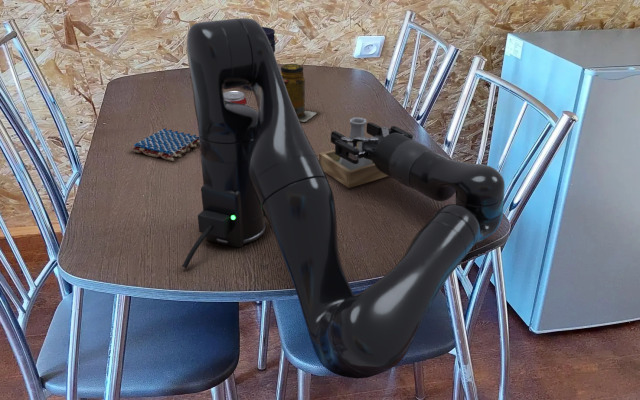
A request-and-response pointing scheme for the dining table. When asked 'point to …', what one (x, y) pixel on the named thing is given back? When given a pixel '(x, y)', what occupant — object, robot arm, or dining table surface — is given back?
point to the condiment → (296, 89)
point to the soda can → (235, 97)
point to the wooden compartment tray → (345, 175)
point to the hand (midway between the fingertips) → (350, 131)
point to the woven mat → (166, 144)
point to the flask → (358, 130)
